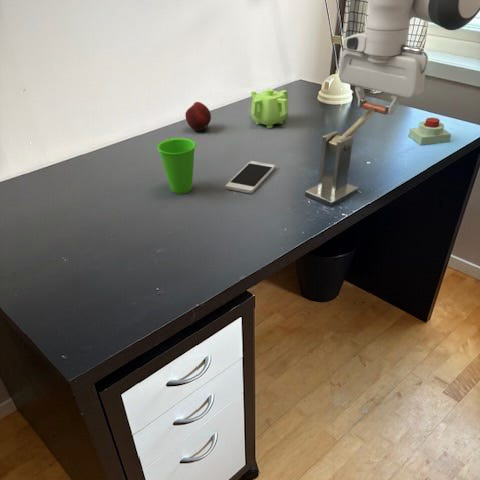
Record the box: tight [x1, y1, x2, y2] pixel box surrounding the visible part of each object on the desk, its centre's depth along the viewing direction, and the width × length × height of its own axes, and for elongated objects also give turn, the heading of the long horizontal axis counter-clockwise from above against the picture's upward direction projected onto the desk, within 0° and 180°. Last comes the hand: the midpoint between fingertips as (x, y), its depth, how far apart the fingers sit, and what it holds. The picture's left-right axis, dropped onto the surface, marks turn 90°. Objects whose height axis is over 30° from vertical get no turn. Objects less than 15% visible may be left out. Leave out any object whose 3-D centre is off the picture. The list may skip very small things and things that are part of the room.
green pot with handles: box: [250, 88, 290, 129], centre depth 146 cm, size 12×12×10 cm
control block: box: [407, 120, 452, 146], centre depth 136 cm, size 9×7×4 cm
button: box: [425, 117, 441, 128], centre depth 134 cm, size 4×4×2 cm
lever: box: [329, 101, 387, 153], centre depth 107 cm, size 16×6×2 cm, turn 134°
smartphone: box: [225, 160, 276, 194], centre depth 120 cm, size 7×16×1 cm, turn 155°
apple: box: [184, 101, 212, 132], centre depth 144 cm, size 7×8×8 cm
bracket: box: [304, 130, 359, 208], centre depth 109 cm, size 10×8×14 cm
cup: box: [156, 137, 197, 195], centre depth 114 cm, size 9×9×11 cm
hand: (375, 109), depth 109 cm, fingers closed on lever, 6 cm apart
